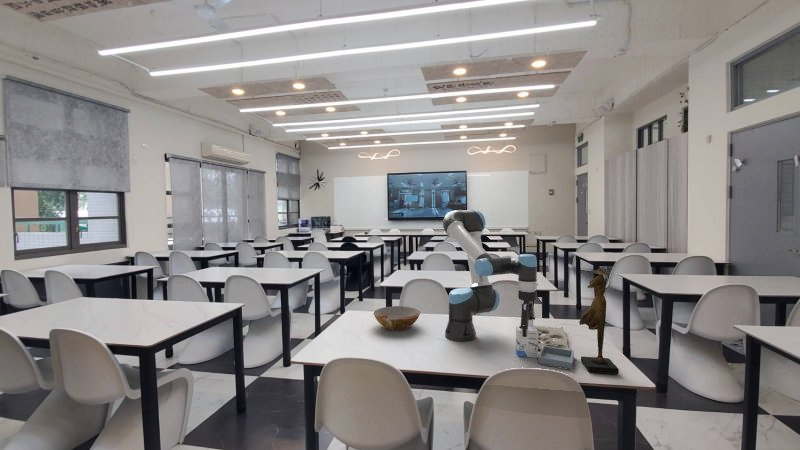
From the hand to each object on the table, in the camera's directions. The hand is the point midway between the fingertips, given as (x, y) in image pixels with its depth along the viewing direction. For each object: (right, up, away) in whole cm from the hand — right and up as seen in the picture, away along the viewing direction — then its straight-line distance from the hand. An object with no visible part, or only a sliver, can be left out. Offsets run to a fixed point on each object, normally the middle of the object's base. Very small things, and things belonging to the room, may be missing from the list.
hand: (527, 339), depth 159 cm
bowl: (-57, -6, +39) cm, 69 cm away
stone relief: (+15, -7, +19) cm, 25 cm away
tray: (+10, -7, -5) cm, 14 cm away
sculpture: (+23, -8, -13) cm, 28 cm away
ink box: (0, -7, +1) cm, 7 cm away
